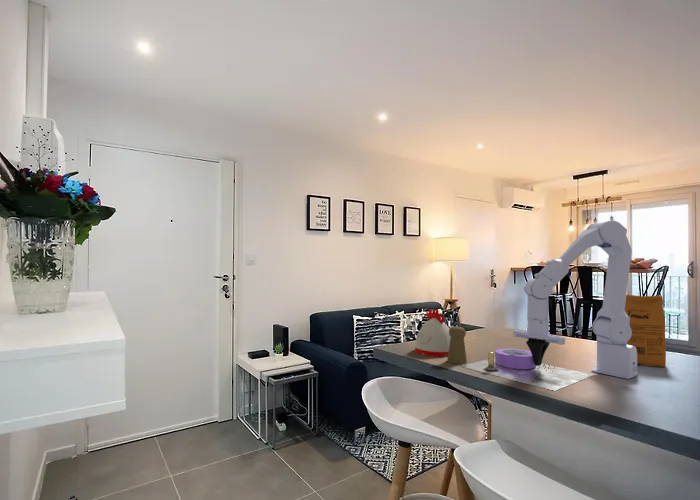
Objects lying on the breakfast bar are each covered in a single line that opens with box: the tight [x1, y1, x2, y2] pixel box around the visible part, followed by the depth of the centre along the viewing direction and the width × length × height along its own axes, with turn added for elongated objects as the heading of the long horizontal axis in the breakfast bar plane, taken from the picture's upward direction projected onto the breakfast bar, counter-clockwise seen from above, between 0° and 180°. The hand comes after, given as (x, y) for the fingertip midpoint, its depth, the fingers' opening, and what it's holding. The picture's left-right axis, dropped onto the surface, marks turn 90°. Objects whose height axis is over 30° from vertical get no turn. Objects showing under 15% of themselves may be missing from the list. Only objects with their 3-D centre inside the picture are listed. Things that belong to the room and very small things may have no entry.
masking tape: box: [494, 348, 536, 369], centre depth 122 cm, size 12×12×4 cm
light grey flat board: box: [459, 357, 594, 392], centre depth 115 cm, size 28×24×1 cm
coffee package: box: [625, 294, 667, 368], centre depth 127 cm, size 10×12×22 cm
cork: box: [446, 326, 468, 365], centre depth 125 cm, size 6×6×11 cm
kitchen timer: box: [414, 308, 451, 358], centre depth 138 cm, size 14×14×15 cm
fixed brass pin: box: [486, 351, 496, 371], centre depth 115 cm, size 3×3×5 cm
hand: (537, 365), depth 116 cm, fingers closed
